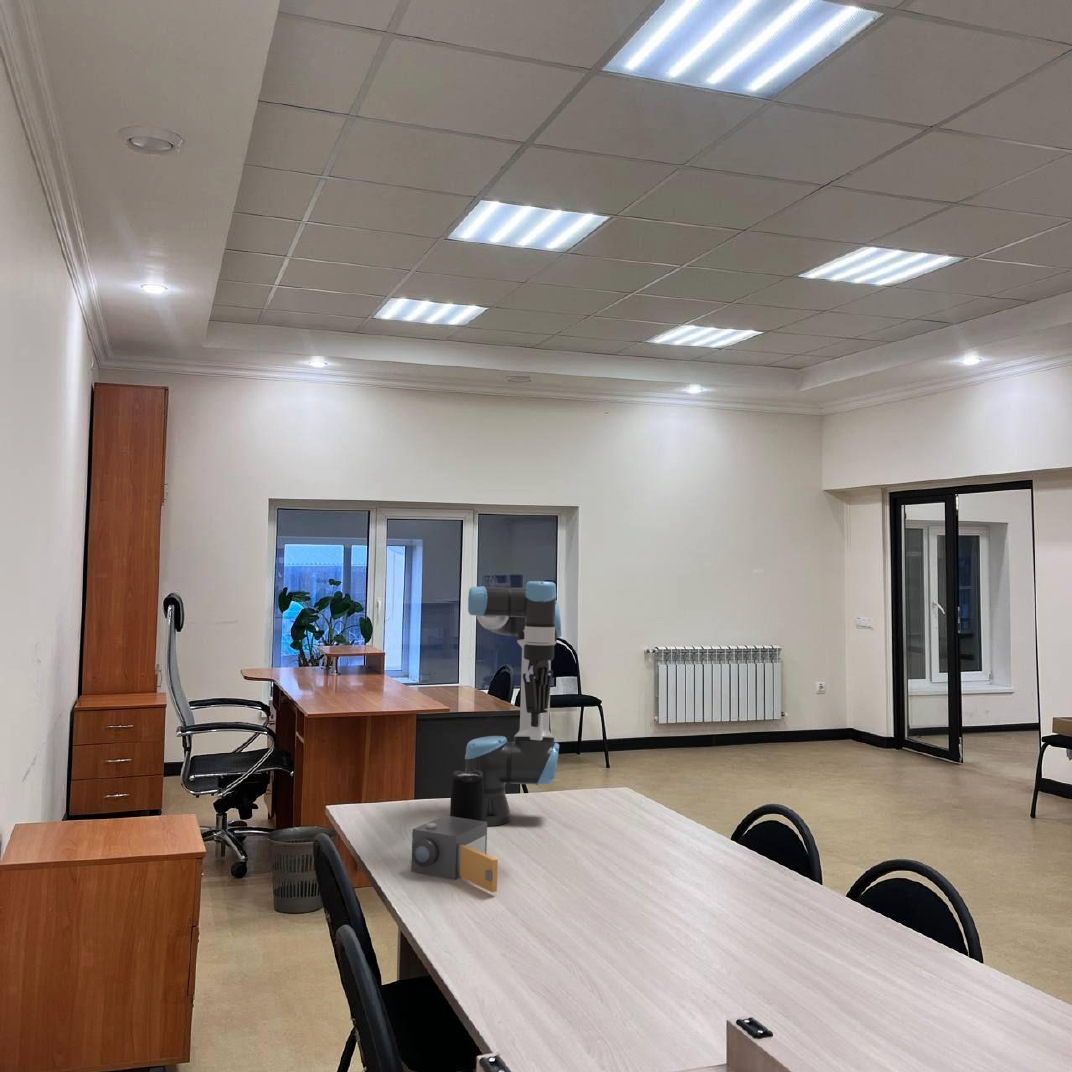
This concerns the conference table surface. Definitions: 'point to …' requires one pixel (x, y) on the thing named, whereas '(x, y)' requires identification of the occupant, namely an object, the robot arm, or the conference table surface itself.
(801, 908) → the conference table surface
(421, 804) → the conference table surface
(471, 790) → the portable speaker
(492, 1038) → the conference table surface
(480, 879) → the side door
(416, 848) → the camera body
